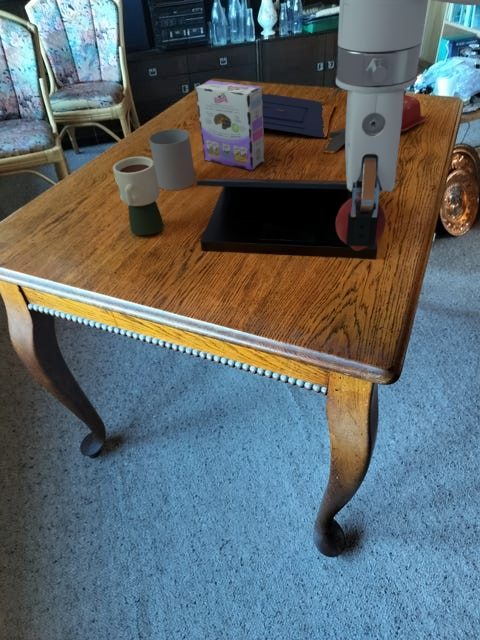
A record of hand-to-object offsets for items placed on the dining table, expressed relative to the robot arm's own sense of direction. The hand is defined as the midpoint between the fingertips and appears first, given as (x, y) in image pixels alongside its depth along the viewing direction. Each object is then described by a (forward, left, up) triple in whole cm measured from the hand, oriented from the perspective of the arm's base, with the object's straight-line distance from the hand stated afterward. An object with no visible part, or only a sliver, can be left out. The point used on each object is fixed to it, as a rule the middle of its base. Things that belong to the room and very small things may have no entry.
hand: (359, 227), depth 56 cm
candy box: (+27, -53, -16) cm, 61 cm away
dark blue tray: (+19, -79, -16) cm, 83 cm away
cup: (+37, -42, -16) cm, 59 cm away
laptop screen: (+11, -28, -9) cm, 31 cm away
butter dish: (-11, -76, -16) cm, 79 cm away
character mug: (+38, -22, -16) cm, 46 cm away
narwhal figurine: (-2, -64, -16) cm, 66 cm away
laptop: (+11, -27, -16) cm, 33 cm away
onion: (0, 0, -3) cm, 3 cm away
